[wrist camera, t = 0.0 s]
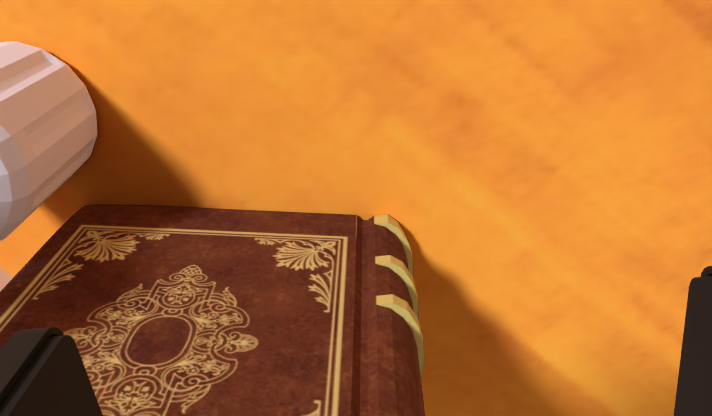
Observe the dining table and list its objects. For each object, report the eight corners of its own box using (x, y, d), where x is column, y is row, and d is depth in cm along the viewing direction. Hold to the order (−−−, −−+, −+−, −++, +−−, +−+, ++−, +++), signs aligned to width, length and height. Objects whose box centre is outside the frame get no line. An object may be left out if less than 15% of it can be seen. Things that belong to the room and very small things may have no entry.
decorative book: (416, 214, 44) (498, 735, 16) (407, 313, 47) (462, 878, 20) (81, 199, 43) (-389, 698, 16) (97, 299, 47) (-271, 848, 20)
